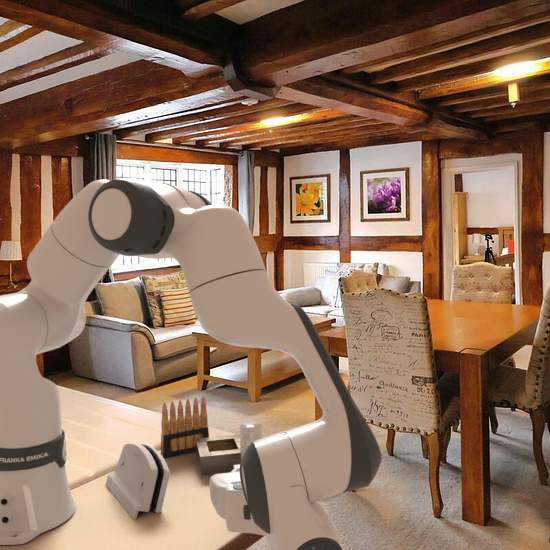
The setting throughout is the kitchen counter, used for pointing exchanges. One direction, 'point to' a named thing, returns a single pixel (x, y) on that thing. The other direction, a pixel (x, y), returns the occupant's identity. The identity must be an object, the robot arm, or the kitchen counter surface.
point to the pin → (249, 435)
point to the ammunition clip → (183, 428)
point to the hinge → (139, 479)
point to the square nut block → (218, 454)
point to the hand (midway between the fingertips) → (264, 465)
